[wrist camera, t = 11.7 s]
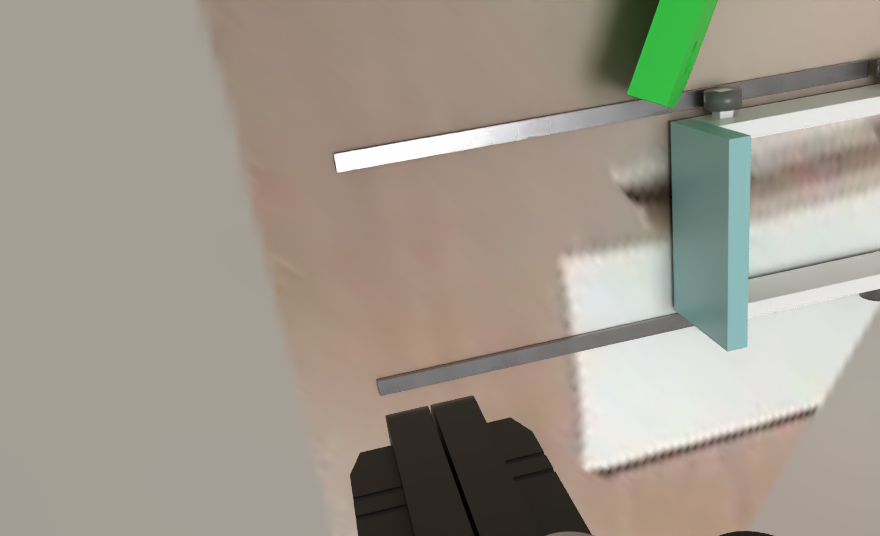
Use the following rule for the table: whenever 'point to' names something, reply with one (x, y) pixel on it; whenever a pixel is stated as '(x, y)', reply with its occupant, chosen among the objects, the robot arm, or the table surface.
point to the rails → (551, 126)
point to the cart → (748, 214)
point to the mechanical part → (671, 50)
